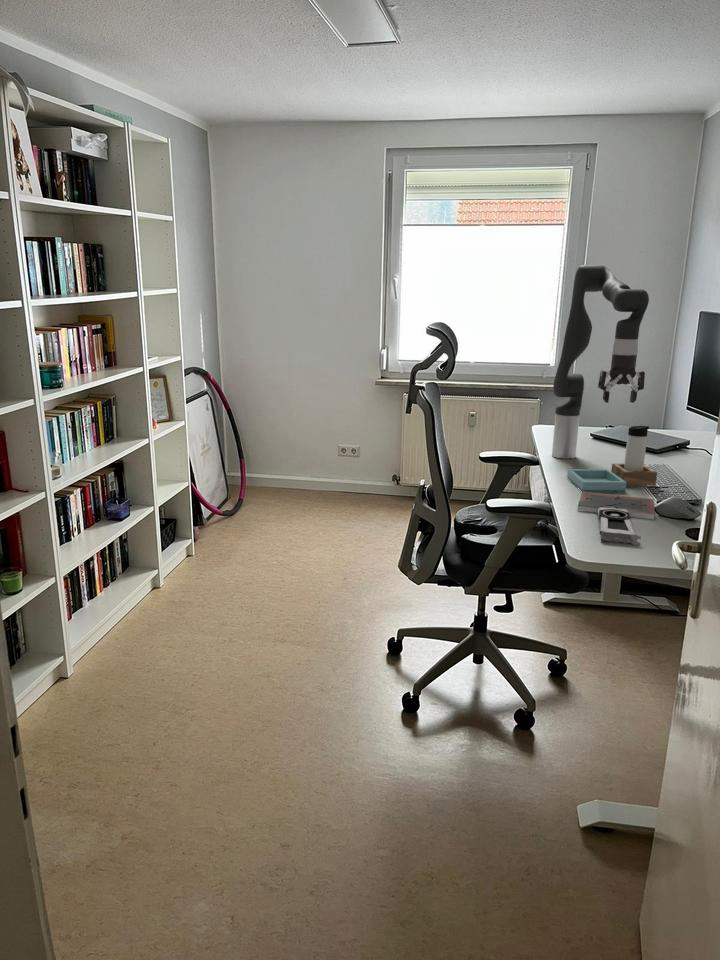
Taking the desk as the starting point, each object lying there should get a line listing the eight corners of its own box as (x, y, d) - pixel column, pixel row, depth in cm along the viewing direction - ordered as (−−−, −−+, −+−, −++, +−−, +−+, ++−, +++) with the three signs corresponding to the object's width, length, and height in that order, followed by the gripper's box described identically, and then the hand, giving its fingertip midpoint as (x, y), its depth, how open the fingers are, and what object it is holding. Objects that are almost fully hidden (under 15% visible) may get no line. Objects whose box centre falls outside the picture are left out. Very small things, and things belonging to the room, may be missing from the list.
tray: (567, 479, 242) (567, 469, 241) (607, 479, 242) (608, 469, 242) (582, 492, 226) (583, 482, 225) (625, 492, 227) (626, 482, 226)
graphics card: (601, 532, 181) (597, 504, 204) (600, 544, 182) (596, 515, 205) (642, 536, 178) (633, 507, 202) (640, 548, 179) (631, 518, 202)
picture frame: (577, 512, 208) (653, 521, 200) (577, 505, 207) (654, 513, 200) (581, 498, 223) (652, 505, 215) (582, 490, 222) (653, 498, 214)
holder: (610, 476, 245) (612, 463, 244) (640, 476, 245) (642, 463, 244) (623, 486, 234) (625, 472, 232) (655, 486, 234) (657, 472, 233)
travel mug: (639, 485, 235) (646, 428, 230) (620, 481, 239) (626, 425, 234) (644, 481, 240) (651, 425, 235) (625, 478, 244) (632, 423, 238)
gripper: (642, 351, 225) (636, 400, 229) (599, 351, 225) (593, 400, 229) (651, 354, 218) (645, 404, 222) (606, 354, 218) (601, 404, 222)
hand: (619, 402), depth 226 cm, fingers open, 8 cm apart
